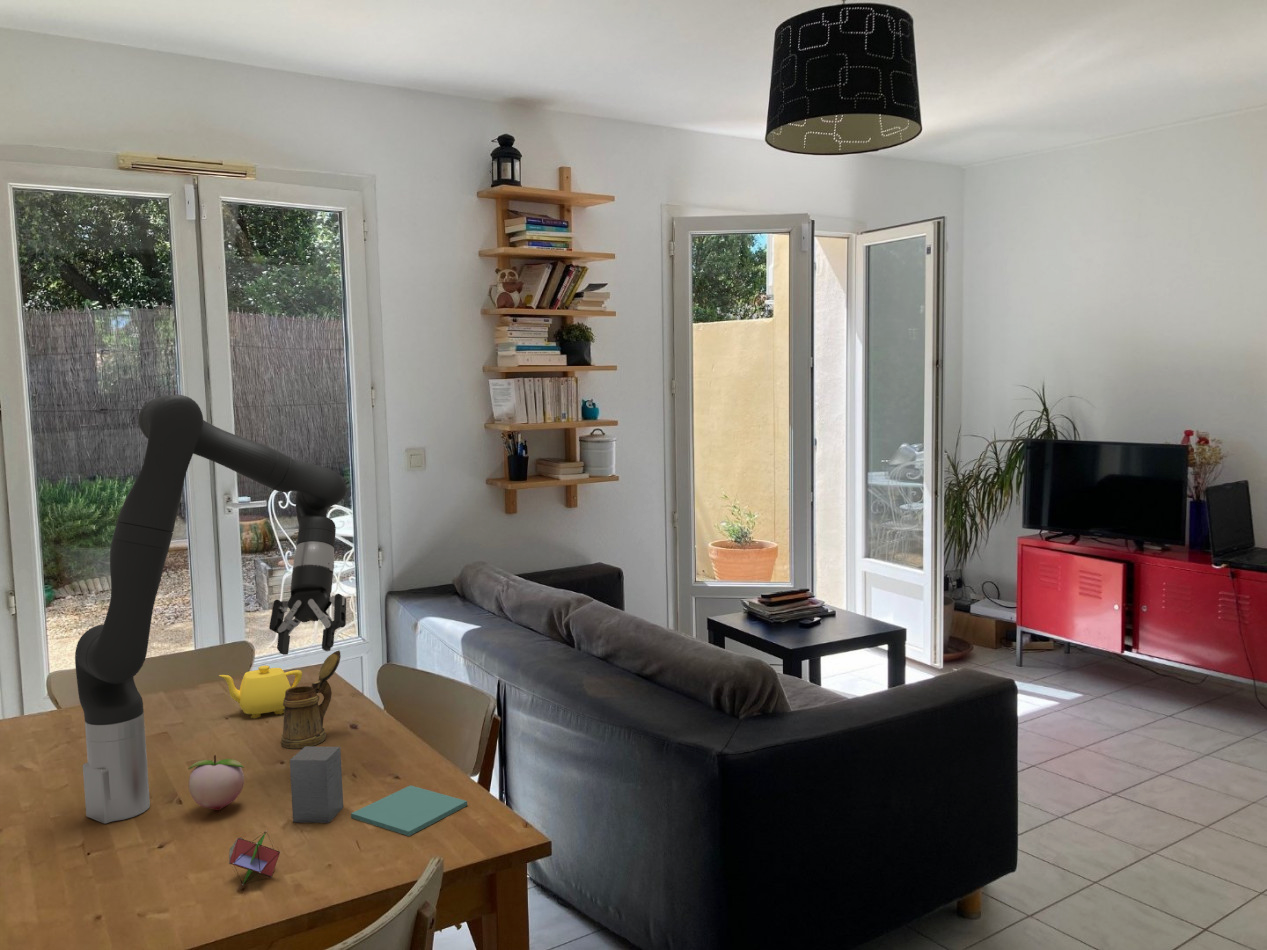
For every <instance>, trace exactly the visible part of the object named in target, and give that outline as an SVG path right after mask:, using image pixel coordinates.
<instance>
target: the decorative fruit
mask: <svg viewBox="0 0 1267 950" xmlns="http://www.w3.org/2000/svg"><path fill="white" fill-rule="evenodd" d="M192 768H194V769H193V770H192V772H191V773H190V775H189V778H188V779H189V780H188V790H189V794H190V796H191V798H192V800H193V801H194V802H195V803H196V804H197V805H199V806H200V807H202V808H206V809H211V810H216V811H219V810H222V809H223V808H225V807H227V806H228V805H230V804H232V803H233V802H234V801H235V800H236V799H237V798H238V797H239V795H240V794H241V792H242V790H243V788H244V785H245V775H244V771H243V768H245V767H244V765H243V764H242V762H241V763H240V762H239V761H238V760H235V759H232V758H224V759H220V760H217V755H216V754H214V755H213V760H210V759H203V760H199V761H196V762H195V763H193V764H191V765H189V767H188V769H187V770H190V769H192Z"/></svg>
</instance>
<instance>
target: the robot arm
mask: <svg viewBox="0 0 1267 950" xmlns="http://www.w3.org/2000/svg"><path fill="white" fill-rule="evenodd" d="M137 418H138V426H139V428H140V431H141V433H142V435H143V436H144V437H145V438H146V439H147V444H146V445H147V446H146V450H145V456H144V460H143V463H142V467H141V469H140V470H139V474H138V476H137V477H136V479H135V481H134V483H133V485H132V486H131V488H130V490H129V492H128V494H127V496H126V497H125V500H124V502H123V504H122V506H121V508H120V511H119V514H118V516H117V520H116V521H117V522H116V523H115V527H114V532H113V536H112V539H111V544H110V550H109V569H110V570H109V571H110V572H109V573H110V589H111V590H110V598H109V605H108V608H107V609H108V610H107V613H106V616H105V620H104V622H103V624H99V625H98V624H97V625H96V626H93V627H90V628H89V629H88V630H86V631H85V632H84V633H83V634H82V635H81V637H80V638H79V640H78V641H77V644H76V646H75V647H76V648H75V652H74V654H75V655H74V664H75V665H74V666H75V675H76V683H77V692H78V693H77V694H78V699H79V703H80V706H81V708H82V711H83V717H84V728H85V744H86V757H87V762H85V763H83V765H82V772H83V775H82V776H83V789H84V803H85V814H86V815H85V816H86V817H87V818H89V819H92V820H95V821H97V822H99V823H102V824H105V825H106V824H108V823H111V822H117V821H123V820H127V819H131V818H133V817H137V816H139V815H141V814H143V813H145V812H146V811H148V810H149V808H150V806H151V804H150V787H149V773H148V771H149V770H148V757H147V744H146V743H147V741H146V740H147V739H146V726H145V713H144V702H143V700H144V699H143V697H142V695H141V693H140V692H139V691H138V689H137V686H136V683H135V676H136V675H137V674H138V673H139V671H140V670H141V669H142V667H143V666H144V663H145V661H146V658H147V657H146V656H147V653H148V647H149V641H150V640H149V639H150V631H151V626H152V625H151V623H152V618H153V611H154V606H155V602H156V597H157V594H158V590H159V589H160V588H159V587H160V585H161V584H160V583H161V580H162V577H163V576H162V575H163V571H164V569H165V563H166V560H167V556H168V554H169V550H170V546H171V543H172V542H171V541H172V540H173V539H172V538H173V534H174V532H175V531H174V530H175V524H176V519H177V517H178V512H179V508H180V505H181V499H182V493H183V488H184V482H185V479H186V475H187V472H188V469H189V466H190V463H191V460H192V457H193V455H196V456H199V457H201V458H203V459H206V460H209V461H211V462H214V463H216V464H218V465H220V466H223V467H225V468H227V469H230V470H232V471H233V472H236V473H238V474H240V475H241V476H243V477H246V478H248V479H249V480H252V481H254V482H256V483H258V484H260V485H262V486H265V487H267V488H270V489H272V490H273V491H276V492H279V493H289V492H296V494H295V501H294V503H295V511H296V519H297V523H298V531H297V541H296V547H295V553H294V557H293V563H292V564H293V565H292V572H291V573H292V574H291V581H290V597H289V598H288V600H283V601H282V600H279V599H275V600H274V601H273V605H272V611H271V615H270V620H269V626H268V629H269V630H270V631H272V632H274V633H276V634H278V638H277V646H276V648H277V651H278V652H279V654H281V655H283V656H285V655H288V654H289V650H290V641H291V640H290V639H291V635H290V634H291V633H292V631H293V630H294V629H295V628H297V627H298V626H299V625H300V623H308V622H310V621H312V622H319V621H320V622H321V623H322V625H323V626H324V629H323V631H322V640H321V649H322V650H323V651H325V652H329V651H331V649H332V648H333V647H334V642H335V632H336V630H337V629H340V628H345V626H346V625H347V598H346V597H345V596H344V595H342V594H340V593H336V594H335V595H334V596H331V594H332V589H333V580H334V579H333V578H334V577H333V576H334V569H335V544H336V543H335V542H336V534H337V533H336V532H337V531H336V529H337V527H336V524H335V522H334V521H333V519H331V518H330V517H328V509H329V508H331V507H333V506H335V505H336V504H338V503H340V502H341V501H342V500H343V499H344V498H345V496H346V493H347V485H346V481H345V480H344V479H343V477H342V476H341V475H339V473H338V472H336V471H335V470H333V469H331V468H328V467H327V466H326V467H325V466H322V465H319V464H314V463H310V462H306V461H301V460H297V459H294V458H293V457H291V456H288V455H287V454H284V453H282V452H281V451H278V450H276V449H274V448H272V447H270V446H267V445H265V444H262V443H260V442H257V441H254V440H251V439H248V438H245V437H243V436H239V435H238V434H237V435H236V434H234V433H231V432H229V431H227V430H225V429H221V428H219V427H217V426H215V425H214V424H211V423H210V422H208V421H206V420H204V416H203V412H202V409H201V407H200V406H199V404H198V403H197V402H196V401H195V400H194V399H192V398H191V397H190V396H186V395H184V394H170V395H169V394H168V395H161V396H159V397H158V396H157V397H155V398H152V399H151V400H149V401H147V402H146V403H145V404H143V406H142V408H141V409H140V411H139V413H138V417H137ZM331 606H333V607H334V608H333V609H334V610H333V620H332V617H331V616H330V614H329V613H328V612H327V611H328V610H329V608H330V607H331ZM288 609H289V612H288ZM287 612H288V613H287ZM285 613H286V615H285Z"/></svg>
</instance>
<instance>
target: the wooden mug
mask: <svg viewBox="0 0 1267 950" xmlns="http://www.w3.org/2000/svg"><path fill="white" fill-rule="evenodd" d="M341 658H342V656H341V651H340V650H337V651H335V652H333V653H331V654H330V655H328V656H327V657H326V658H325V660H324V661H323V663H322V666H321V667H320V670H319V672H318V673H319V674H318V680H317V681H314V682H313V683H311V686H307V685H299V686H298V685H297V686H296V687H293V688H289V689H287V690H286V692H285V698H284V701H283V706H284V707H285V709H283V711H284V714H283V725H282V726H283V727H282V734H281V737H280V746H281V747H282V748H286V749H292V750H293V749H297V750H298V749H303V748H304V747H305V746H307V747H316V746H317V745H319V744H321V743H323V742H324V741H325V740H326V737H327V736H326V735H327V733H326V730H325V728H324V726H323V725H324V718H325V715H326V712H327V710H328V708H329V705H330V702H331V701H332V687H331V685H330V683H329V682H328V680H329V679H331V678H332V676H333V675H334V674H335V673H336V671H337V670H338V667H339V664H340V661H341ZM317 694H321V695H322V696H323V700H322V702H321V703H320V704H319V701H320V696H319V695H317Z"/></svg>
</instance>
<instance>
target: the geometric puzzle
mask: <svg viewBox="0 0 1267 950" xmlns="http://www.w3.org/2000/svg"><path fill="white" fill-rule="evenodd" d="M260 833H261V835H259V836H257V837H255V838H254V839H253V840H252V841H250V840H246V839H244V838H245V837H246V835H245V836H243V837H244V838H243V837H242V836H241V837H237V838H236V840H235V841H234V842H233V844H232V845H231V847H230V848H229V852H228V853H229V854H228V855H229V856H228V857H229V858H228V864H229V865H233V866H234V868H235V869H234V870H233V872H234V873H235V875H237V877H238V879H239V881H240V883H241V884H242V886H244V885H245V884H247V883H248V882H249V881H251V880H252V879H254V878H255V877H256V876H258V875H259V874H260V875H262V876H266V878H264V879H265V880H267V877H268V879H270V878H273V874H274V871H275V868H276V866H277V863H278V860H279V857H280V853H282V852H281V851H280V850H279V849H278V848H277V849H278V850H277V849H275V848H274V847H273V842H272V840H270V839H271V837H270V835H269V834H268V832H267V830H265V831H263V832H260ZM258 834H259V832H257V833H256V835H258ZM265 835H267V836H268V839H269V842H270V844H271V846H272V848H271V847H268V846H265V845H264V844H263V842H264V838H265ZM259 837H260V839H259V840H258V841H257V842H254V841H256V839H258V838H259ZM262 844H263V845H262ZM236 867H238V868H241V869H244V870H247V871H246V874H245V877H244V880H243V881H242V880H241V877H240V874H239V872H238V870H237V868H236ZM235 871H236V872H235ZM252 873H255V875H254V876H252V877H250V876H251V874H252ZM249 877H250V878H249ZM261 880H263V879H262V878H261V879H260V881H261ZM256 881H259V879H257V880H256ZM253 882H254V881H252V883H253Z"/></svg>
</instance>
